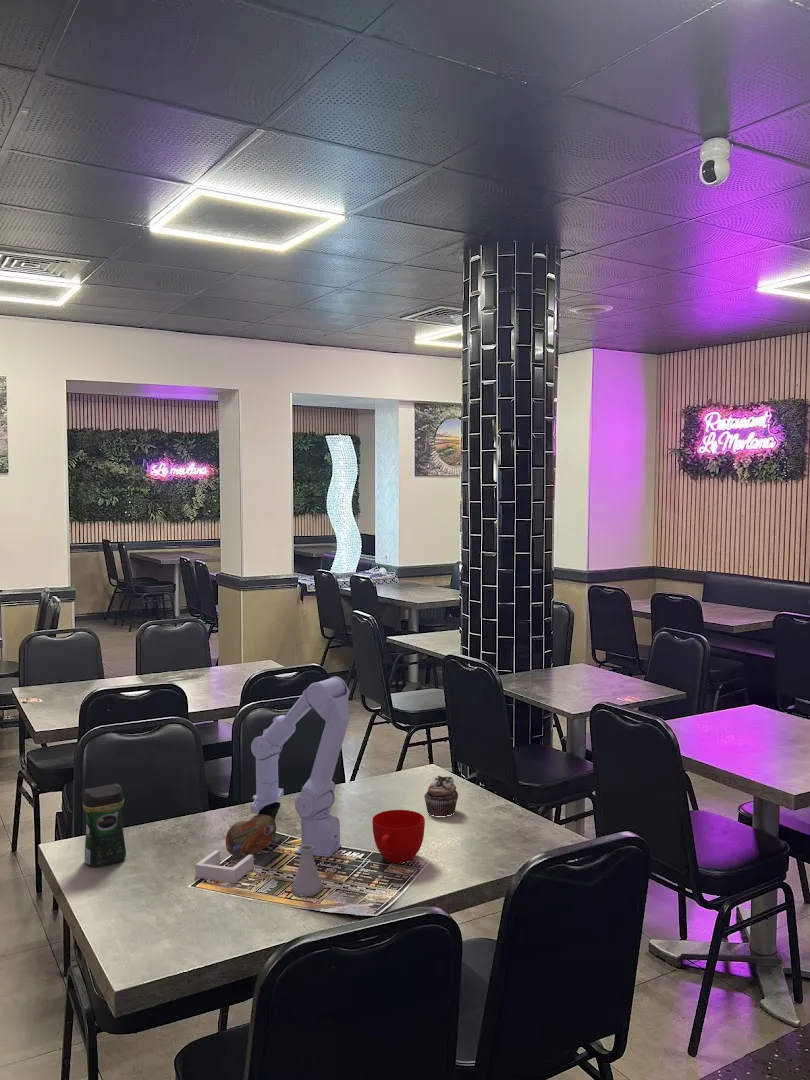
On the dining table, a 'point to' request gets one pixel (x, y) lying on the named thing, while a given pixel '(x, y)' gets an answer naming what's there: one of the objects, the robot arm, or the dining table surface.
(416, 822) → the ceramic cup
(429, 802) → the cupcake
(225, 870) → the endcap
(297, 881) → the flask
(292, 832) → the dining table surface
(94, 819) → the coffee jar
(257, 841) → the tin
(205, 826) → the dining table surface
